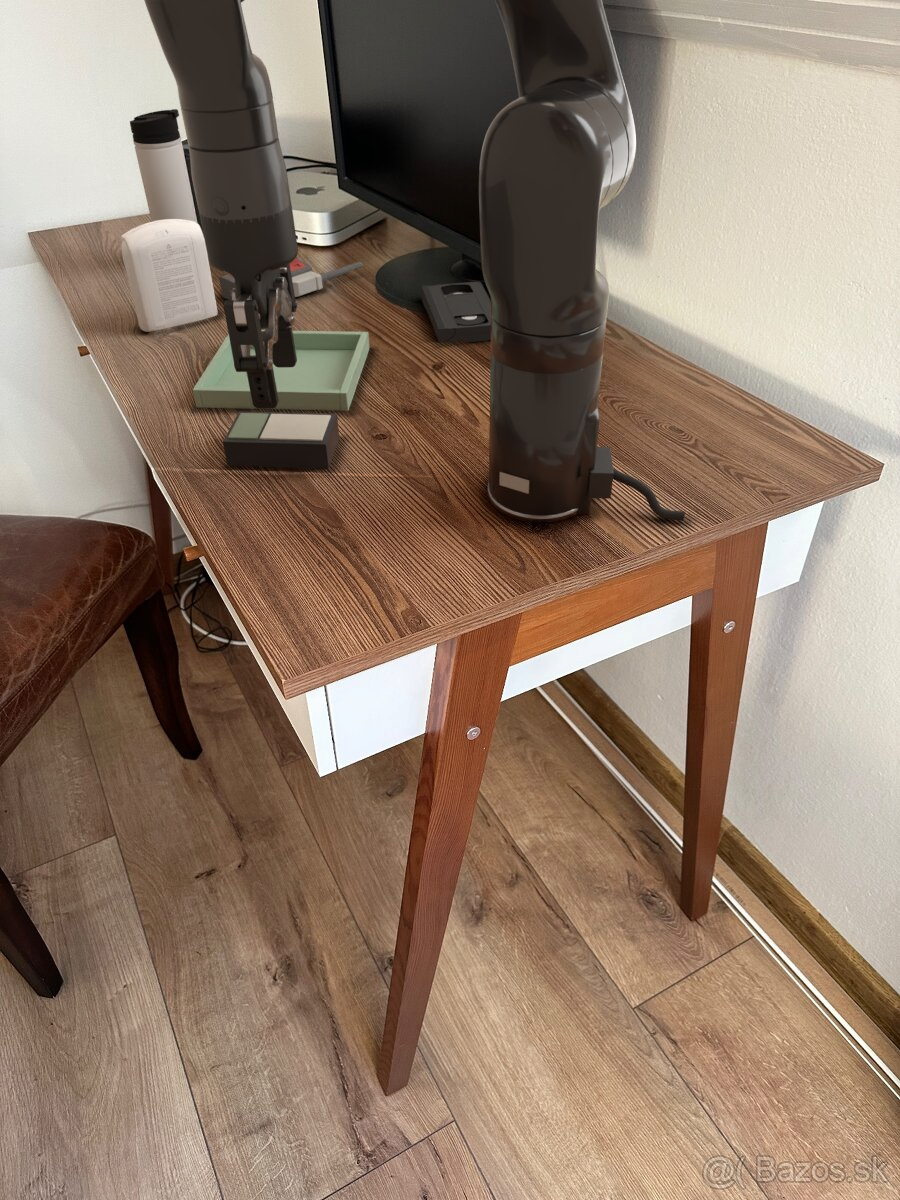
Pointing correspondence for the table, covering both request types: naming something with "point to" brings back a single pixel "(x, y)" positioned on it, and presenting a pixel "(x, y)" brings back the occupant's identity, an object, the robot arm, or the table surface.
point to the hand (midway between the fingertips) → (276, 385)
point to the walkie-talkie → (296, 278)
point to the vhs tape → (458, 311)
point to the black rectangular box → (282, 440)
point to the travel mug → (163, 165)
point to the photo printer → (168, 273)
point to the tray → (292, 374)
